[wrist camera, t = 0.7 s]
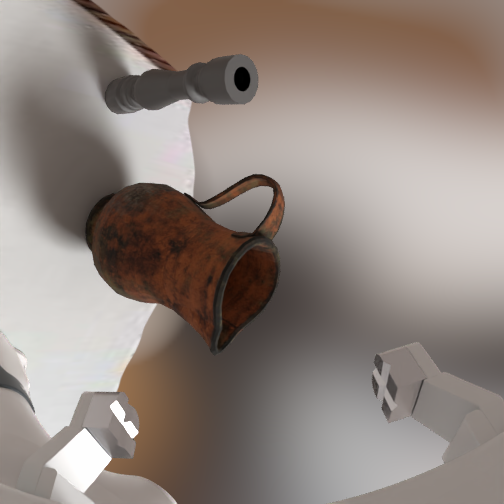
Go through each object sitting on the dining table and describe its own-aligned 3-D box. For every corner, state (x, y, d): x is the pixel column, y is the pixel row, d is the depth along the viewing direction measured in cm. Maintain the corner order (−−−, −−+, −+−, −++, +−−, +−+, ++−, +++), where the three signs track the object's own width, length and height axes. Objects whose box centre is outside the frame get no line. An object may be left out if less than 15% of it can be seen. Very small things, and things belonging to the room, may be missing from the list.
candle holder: (109, 74, 40) (229, 43, 27) (140, 82, 45) (263, 64, 32) (101, 111, 42) (217, 97, 28) (133, 117, 47) (254, 112, 33)
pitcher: (51, 255, 42) (171, 354, 26) (113, 134, 45) (271, 139, 29) (125, 284, 56) (256, 363, 40) (174, 182, 59) (320, 215, 43)
